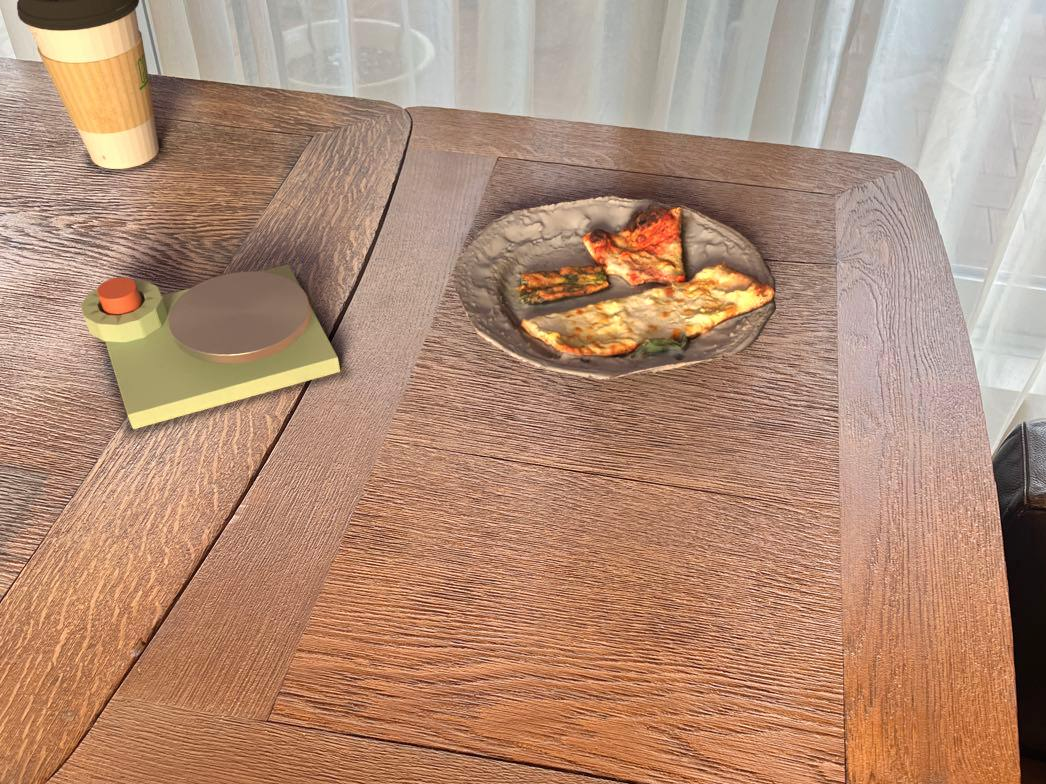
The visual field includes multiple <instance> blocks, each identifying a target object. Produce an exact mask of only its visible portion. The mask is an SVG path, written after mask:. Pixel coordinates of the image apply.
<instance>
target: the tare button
mask: <svg viewBox="0 0 1046 784" xmlns="http://www.w3.org/2000/svg"><path fill="white" fill-rule="evenodd" d="M132 279H133V278H129V277H121V276H120V277H113V278H110V279H107V280H105V281H103V282H102V283H101V284H100V285H99V286H98V287H97V288H98V289H97V288H96V289H97V294H98V297H99V299H100V302H101V305H102V307H103V310H104V311H105V313H107V314H108V315H117V316H119V315H123V314H127V313H131V312H134V311H135V310H137V309H138V308H140V307H141V305H142V299H141V296H140V294H139V291H138V288H137V285H136V283H135V282H134V281H133V280H132Z"/></svg>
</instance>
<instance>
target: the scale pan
mask: <svg viewBox="0 0 1046 784" xmlns="http://www.w3.org/2000/svg"><path fill="white" fill-rule="evenodd" d="M299 285H300V284H299ZM299 285H297V284H296V283H295V282H293V281H291V280H289V279H287V278H285V277H282V276H279V275H276V274H271V273H265V272H260V271H238V272H230V273H226V274H222V275H218V276H215V277H212V278H209V279H206V280H204V281H201V282H199V283H197V284H196V285H194V286H192V287H191V288H188V289H189V290H188V291H186V292H185V293H184V294H183V295H182V296H180V297H179V298H178V300H177V301H176V302H175V303H174V305H173V306H172V308H171V310H170V313H169V317H168V326H169V330H170V333H171V336H172V338H173V340H174V342H175V344H176V345H177V346H178V347H179V348H180V349H181V350H182V351H183V352H185V353H186V354H188V355H190V356H192V357H194V358H196V359H199V360H203V361H207V362H212V363H221V364H234V363H244V362H251V361H255V360H259V359H263V358H266V357H269V356H271V355H274V354H276V353H278V352H280V351H282V350H284V349H286V348H287V347H289V346H290V345H292V344H293V343H294V342H295V341H297V340H298V339H299V338H300V337H301V336H302V334H303V333H304V332H305V330H306V329H307V327H308V325H309V321H310V316H311V312H310V306H311V305H310V306H309V304H310V301H309V298H308V296H307V293H306V291H304V288H302V287H301V285H300V286H299Z"/></svg>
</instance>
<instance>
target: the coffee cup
mask: <svg viewBox="0 0 1046 784" xmlns="http://www.w3.org/2000/svg"><path fill="white" fill-rule="evenodd" d="M139 4H140V0H17V2H16V10H17V16H18V18H19V21H20V22H22V23H23V24H25V25H27V26H28V28H29V30H30V33H31V34H32V36H33V39H34V41H35V43H36V45H37V46H36V47H37V52H38V54H39V56H40V59H41V60H42V62H43V65H44V66H45V69H46V71H47V73H48V75H49V77H50V79H51V81H52V83H53V85H54V87H55V90H56V92H57V93H58V95H59V98H60V100H61V102H62V104H63V106H64V108H65V110H66V112H67V115H68V117H69V118H70V120H71V123H72V124H73V126H74V127H75V128H76V129H77V131H78V133H79V136H80V138H81V140H82V142H83V144H84V146H85V148H86V151H87V153H88V155H89V157H90V158H91V160H92V162H93V164H95V165H97V166H99V167H102V168H105V169H111V170H113V169H114V170H123V169H129V168H133V167H138V166H140V165H141V166H142V165H143V164H145V163H148V162H150V161H151V160H152V159H154V158H155V157H156V156H157V155H158V153H159V151H160V145H159V139H158V135H157V128H156V123H155V117H154V113H155V107H154V102H153V95H152V90H151V82H150V78H149V71H148V65H147V60H146V58H147V57H146V53H145V48H144V47H145V46H144V41H143V35H142V31H141V30H140V28H139V27H140V26H139V22H138V21H139V20H138V16H137V10H136V8H138V6H139Z"/></svg>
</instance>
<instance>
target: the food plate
mask: <svg viewBox="0 0 1046 784" xmlns="http://www.w3.org/2000/svg"><path fill="white" fill-rule="evenodd" d="M453 275H454V278H453V284H454V287H455V291H456V294H457V298H458V300H459V302H460V306H462V308H463V312H464V314H465V315H466V318H467V319H468V321H469V323H470V325H471V327H472V328H473V330H474V332H475V333H476V335H478V337H480V338H481V339H483V340H485V342H488V344H490V345H491V346H494V347H496V348H498V350H500V351H503V352H504V353H506V354H508V355H509V356H511V357H513V358H516V359H517V360H519V361H520V362H522V363H523V362H525V363H526V364H529V365H531V366H533V367H537V368H540V369H544V370H547V371H551V372H555V373H558V374H559V373H560V374H565V375H569V376H574V377H580V378H589V379H596V380H601V381H604V380H605V381H608V380H611V379H616V378H626V377H628V376H629V377H631V376H633V375H637V374H638V375H640V374H647V373H650V372H651V373H653V374H655V373H657V372H663V371H667V370H672V369H678V368H680V367H684V366H685V367H686V366H692V365H694V366H695V365H696V364H701V363H703V362H712V361H714V360H719V361H721V360H722V359H728V358H729V357H731V356H732V355H733V356H734V355H737V354H738V353H741V352H744V351H745V350H746V349H747V348H750V347H751V346H752V345H753V344H754V343H755V342H756V341H757V340H759V337H760V336H761V334H762V332H763V330H764V328H765V327H766V326H767V324H768V322H769V320H771V317H772V316H773V315H774V312H776V311H777V304H776V300H775V298H776V297H775V296H776V290H777V289H776V288H777V287H776V286H777V285H776V278H775V277H774V276H773V275H772V270H771V268H770V266H769V264H767V262H766V260H765V258H764V256H763V254H762V252H761V251H760V249H759V248H758V246H756V244H754V243H752V241H751V240H750V239H748V238H747V237H746V236H745V235H744V234H743V233H741V232H740V231H739V230H737V229H736V228H734V227H732V226H730V225H728V224H726V223H724V222H721V220H720V221H719V220H718V219H716V218H713V217H712V216H710V215H708V214H706V213H703V212H702V211H700V210H698V209H695V208H692V207H690V206H687V205H684V204H675V203H672V202H670V203H668V202H665V203H661V202H660V201H654V199H650V198H641V199H633V198H625V197H620V196H618V195H617V196H615V195H611V196H607V195H606V196H603V197H602V196H599V197H596V198H593V197H591V198H588V199H587V198H586V199H578V200H575V201H573V200H572V201H563V202H558V203H556V204H555V203H552V204H549V205H548V204H546V205H541V206H536V207H529V209H525V208H524V209H519V210H512V212H509V213H507V214H504V215H502V216H500V217H499V218H495V219H493V220H492V221H491V222H489V223H487V224H486V225H485V226H484V227H483V228H481V229H480V230H479V231H478V232H477V233H476V235H475V236H474V237H472V238H471V240H470V241H469V242H468V243H467V245H466V246H465V247H464V249H463V250H462V251H461V253H460V254H459V257H458V258H457V259H456V262H455V267H454V273H453Z"/></svg>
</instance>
